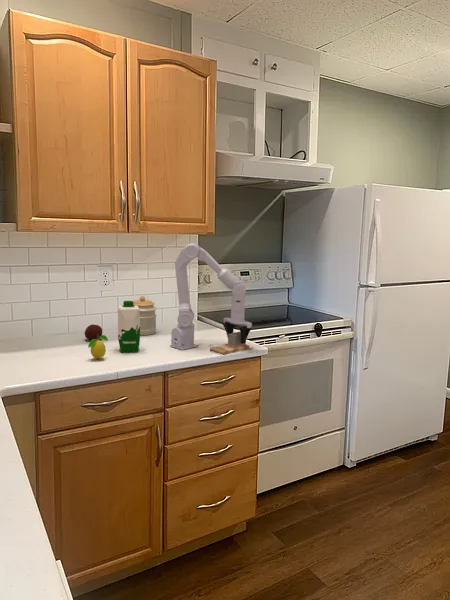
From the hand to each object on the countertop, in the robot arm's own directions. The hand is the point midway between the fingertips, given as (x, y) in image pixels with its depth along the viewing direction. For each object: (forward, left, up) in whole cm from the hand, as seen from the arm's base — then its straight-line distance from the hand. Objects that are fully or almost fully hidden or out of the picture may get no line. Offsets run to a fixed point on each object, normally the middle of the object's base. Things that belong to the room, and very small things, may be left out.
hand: (236, 341), depth 201 cm
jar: (-14, +48, -3) cm, 50 cm away
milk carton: (-37, +26, -3) cm, 45 cm away
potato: (-39, +50, -3) cm, 63 cm away
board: (-4, 0, -3) cm, 5 cm away
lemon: (-53, +23, -3) cm, 58 cm away
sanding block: (0, 0, -2) cm, 2 cm away
